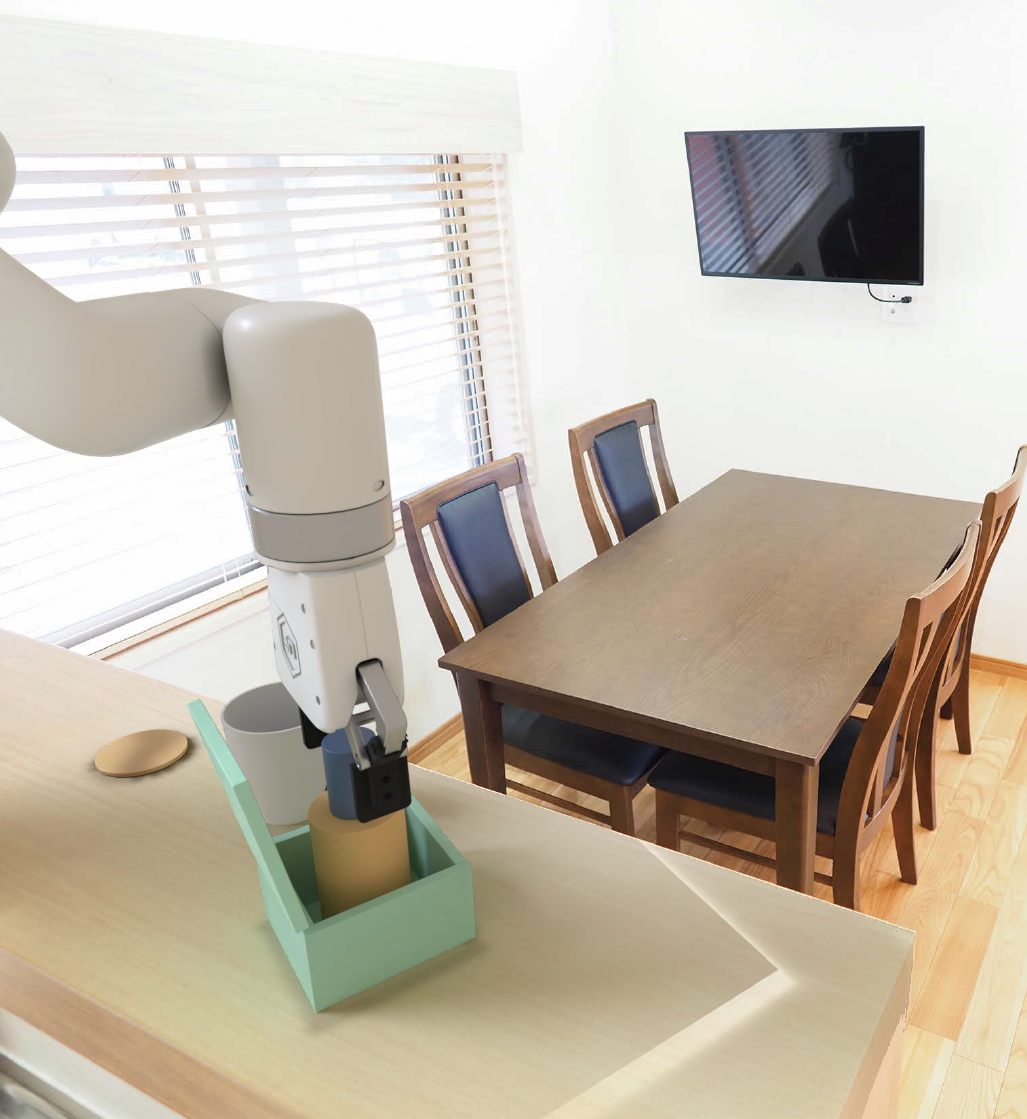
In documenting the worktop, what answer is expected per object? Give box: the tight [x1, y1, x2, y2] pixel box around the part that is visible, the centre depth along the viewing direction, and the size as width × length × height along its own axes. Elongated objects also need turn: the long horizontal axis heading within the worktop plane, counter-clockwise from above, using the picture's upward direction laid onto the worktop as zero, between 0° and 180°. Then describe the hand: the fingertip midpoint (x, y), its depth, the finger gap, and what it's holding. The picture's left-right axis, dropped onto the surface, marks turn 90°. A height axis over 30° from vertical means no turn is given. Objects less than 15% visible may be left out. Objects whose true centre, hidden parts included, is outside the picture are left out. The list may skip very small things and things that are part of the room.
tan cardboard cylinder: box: [307, 726, 411, 920], centre depth 63 cm, size 6×6×15 cm
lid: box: [186, 698, 309, 934], centre depth 57 cm, size 11×11×1 cm
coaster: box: [94, 728, 189, 778], centre depth 84 cm, size 7×7×1 cm
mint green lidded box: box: [256, 792, 477, 1014], centre depth 64 cm, size 11×11×7 cm
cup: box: [219, 680, 327, 826], centre depth 76 cm, size 8×8×10 cm
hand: (355, 775), depth 61 cm, fingers open, 9 cm apart
